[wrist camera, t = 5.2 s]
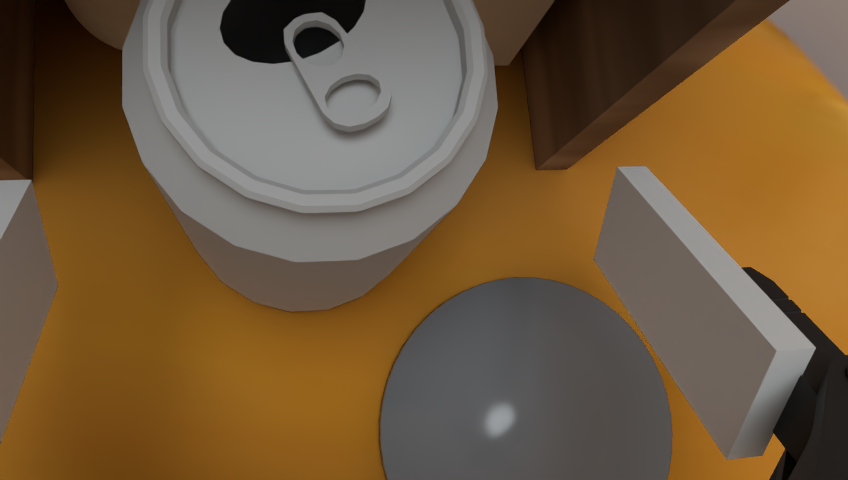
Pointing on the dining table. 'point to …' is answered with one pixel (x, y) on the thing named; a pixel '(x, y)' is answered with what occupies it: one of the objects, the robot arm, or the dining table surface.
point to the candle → (106, 18)
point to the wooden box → (542, 56)
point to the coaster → (524, 391)
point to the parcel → (509, 24)
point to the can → (309, 133)
